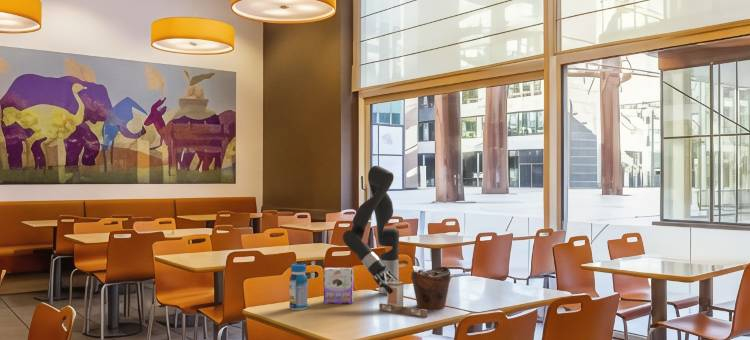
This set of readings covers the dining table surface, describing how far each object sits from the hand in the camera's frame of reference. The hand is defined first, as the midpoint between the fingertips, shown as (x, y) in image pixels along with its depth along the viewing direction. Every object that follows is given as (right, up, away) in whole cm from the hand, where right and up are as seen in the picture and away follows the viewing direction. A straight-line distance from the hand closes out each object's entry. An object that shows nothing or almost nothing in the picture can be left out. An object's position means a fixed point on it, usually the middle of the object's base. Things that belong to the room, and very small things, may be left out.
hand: (395, 291), depth 294 cm
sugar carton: (0, -8, 0) cm, 8 cm away
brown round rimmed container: (+16, -8, +5) cm, 19 cm away
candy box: (-27, -8, +14) cm, 31 cm away
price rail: (+3, -8, -10) cm, 13 cm away
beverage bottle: (-44, -8, +1) cm, 45 cm away
